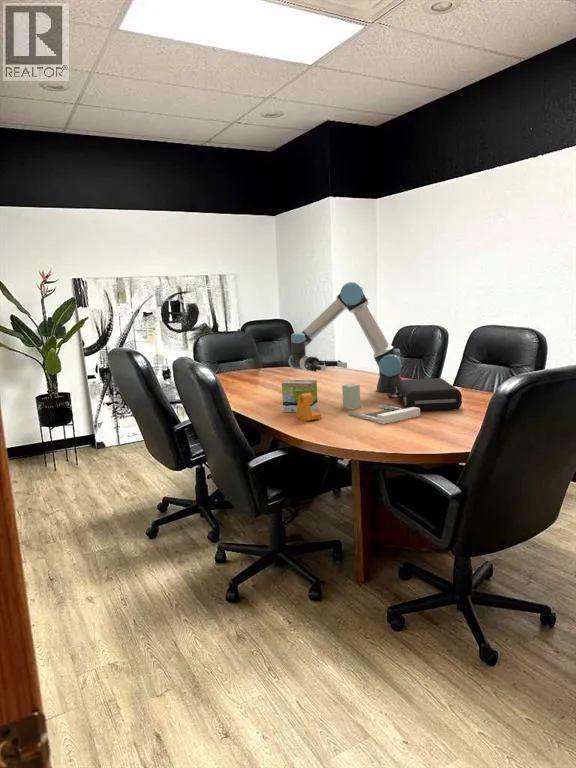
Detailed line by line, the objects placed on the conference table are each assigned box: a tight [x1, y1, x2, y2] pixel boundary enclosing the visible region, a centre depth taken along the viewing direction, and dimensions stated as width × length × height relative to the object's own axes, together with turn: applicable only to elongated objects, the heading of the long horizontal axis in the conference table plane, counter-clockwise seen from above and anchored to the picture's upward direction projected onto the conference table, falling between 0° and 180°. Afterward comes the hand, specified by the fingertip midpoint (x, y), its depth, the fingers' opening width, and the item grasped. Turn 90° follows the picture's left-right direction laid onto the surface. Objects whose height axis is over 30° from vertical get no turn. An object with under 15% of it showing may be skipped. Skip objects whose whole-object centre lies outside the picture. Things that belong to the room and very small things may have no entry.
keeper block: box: [341, 383, 361, 410], centre depth 265 cm, size 6×6×11 cm
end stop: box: [376, 407, 421, 425], centre depth 237 cm, size 21×4×4 cm, turn 121°
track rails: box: [347, 403, 403, 423], centre depth 247 cm, size 21×21×2 cm
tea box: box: [281, 379, 319, 413], centre depth 264 cm, size 15×10×15 cm
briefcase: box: [386, 377, 463, 412], centre depth 263 cm, size 36×32×10 cm
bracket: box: [295, 393, 322, 422], centre depth 247 cm, size 11×7×12 cm, turn 29°
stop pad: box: [365, 409, 392, 418], centre depth 245 cm, size 16×15×1 cm
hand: (336, 367), depth 271 cm, fingers open, 13 cm apart
